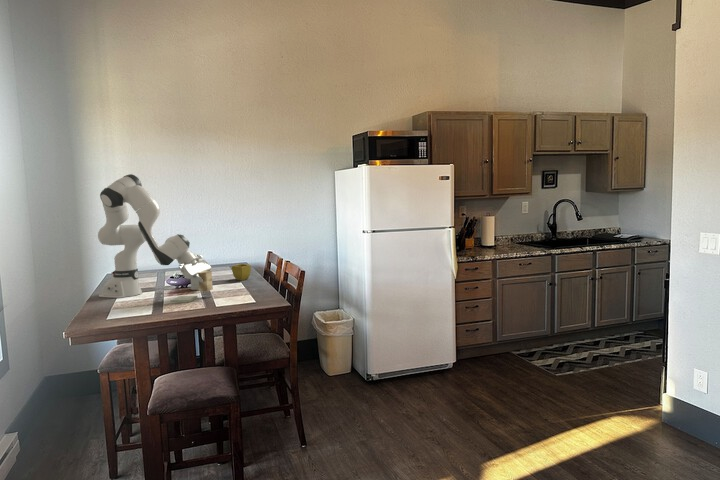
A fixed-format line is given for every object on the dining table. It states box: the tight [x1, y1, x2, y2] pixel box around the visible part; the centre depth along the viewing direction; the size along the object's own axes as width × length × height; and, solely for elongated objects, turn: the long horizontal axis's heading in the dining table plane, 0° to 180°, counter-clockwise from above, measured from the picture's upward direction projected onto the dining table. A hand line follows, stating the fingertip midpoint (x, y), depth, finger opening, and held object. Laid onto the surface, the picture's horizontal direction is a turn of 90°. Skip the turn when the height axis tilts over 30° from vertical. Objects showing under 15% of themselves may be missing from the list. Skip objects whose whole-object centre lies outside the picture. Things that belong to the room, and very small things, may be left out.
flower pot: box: [231, 263, 252, 281], centre depth 335 cm, size 9×9×9 cm
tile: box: [170, 295, 198, 303], centre depth 284 cm, size 10×10×1 cm
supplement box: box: [190, 278, 199, 291], centre depth 312 cm, size 7×7×13 cm
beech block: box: [198, 270, 213, 292], centre depth 288 cm, size 5×5×10 cm
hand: (206, 280), depth 288 cm, fingers closed on beech block, 5 cm apart
